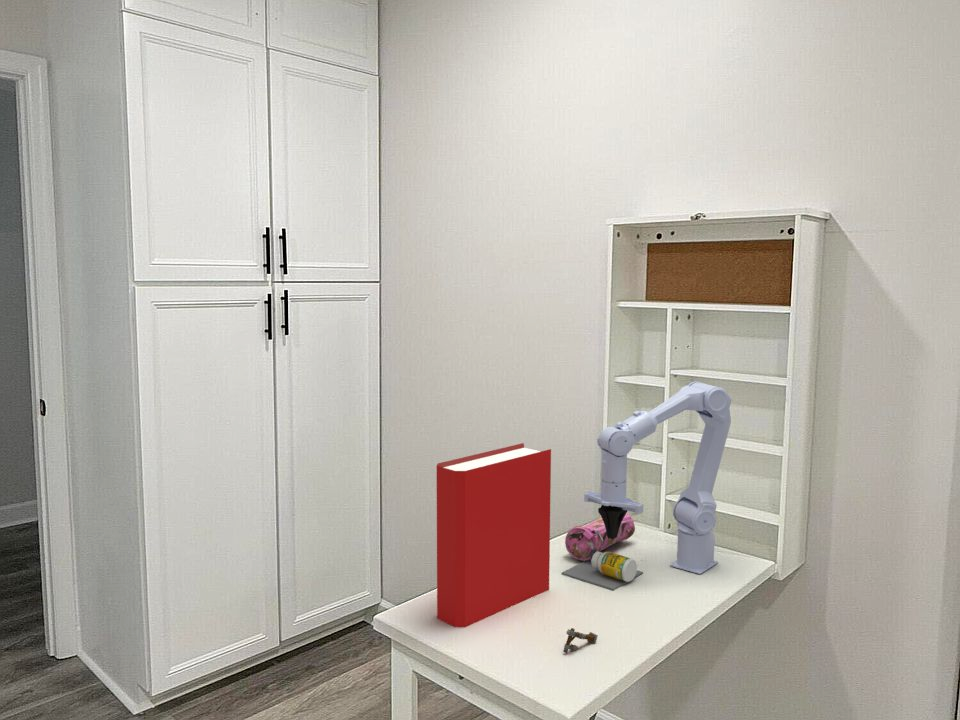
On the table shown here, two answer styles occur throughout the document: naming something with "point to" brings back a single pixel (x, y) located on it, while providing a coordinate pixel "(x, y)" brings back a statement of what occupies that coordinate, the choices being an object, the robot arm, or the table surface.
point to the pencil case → (595, 537)
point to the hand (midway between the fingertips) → (612, 537)
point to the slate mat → (595, 576)
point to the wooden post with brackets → (590, 638)
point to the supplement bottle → (615, 565)
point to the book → (492, 532)
